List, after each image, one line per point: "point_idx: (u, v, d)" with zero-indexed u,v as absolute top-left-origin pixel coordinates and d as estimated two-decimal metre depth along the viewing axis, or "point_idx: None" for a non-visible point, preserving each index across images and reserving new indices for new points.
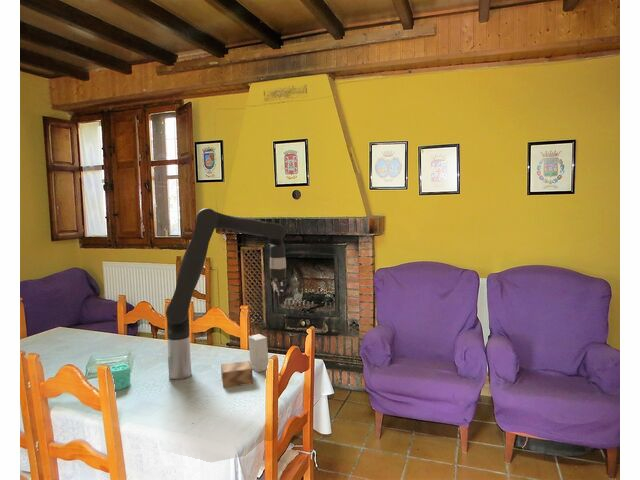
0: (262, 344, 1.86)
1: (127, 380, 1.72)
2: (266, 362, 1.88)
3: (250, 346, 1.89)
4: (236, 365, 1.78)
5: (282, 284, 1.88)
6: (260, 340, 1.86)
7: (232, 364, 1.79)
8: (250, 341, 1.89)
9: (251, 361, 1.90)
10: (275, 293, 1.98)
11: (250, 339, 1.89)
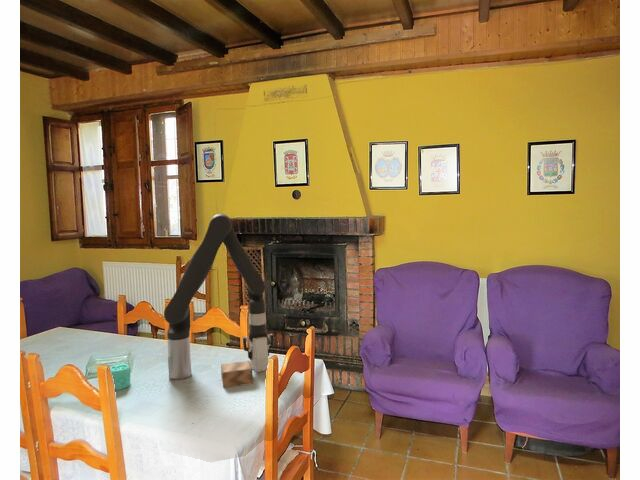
0: (262, 344, 1.86)
1: (127, 380, 1.72)
2: (266, 362, 1.88)
3: None
4: (236, 365, 1.78)
5: None
6: (260, 340, 1.86)
7: (232, 364, 1.79)
8: (250, 341, 1.89)
9: (251, 361, 1.90)
10: None
11: None
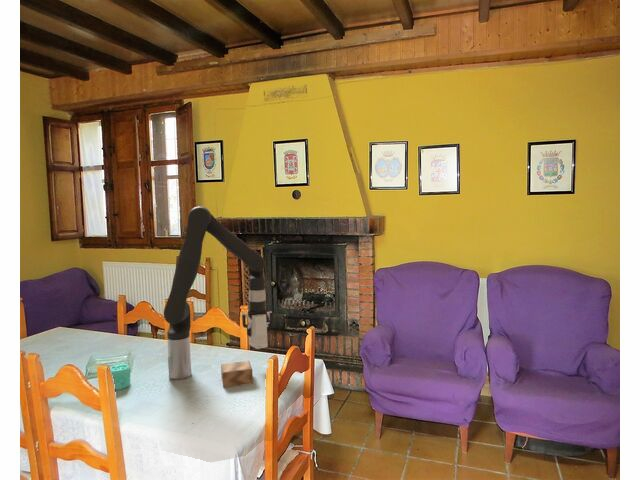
0: (261, 321, 1.85)
1: (127, 380, 1.72)
2: (265, 339, 1.87)
3: None
4: (236, 365, 1.78)
5: None
6: (260, 317, 1.85)
7: (232, 364, 1.79)
8: (249, 318, 1.88)
9: (250, 338, 1.89)
10: None
11: None
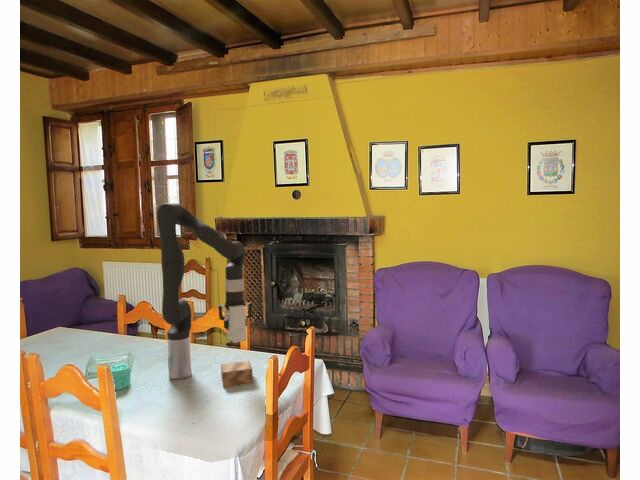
0: (239, 312, 1.73)
1: (127, 380, 1.72)
2: (243, 332, 1.74)
3: None
4: (236, 365, 1.78)
5: None
6: (237, 308, 1.72)
7: (232, 364, 1.79)
8: (226, 310, 1.76)
9: (227, 331, 1.76)
10: (227, 322, 1.74)
11: None
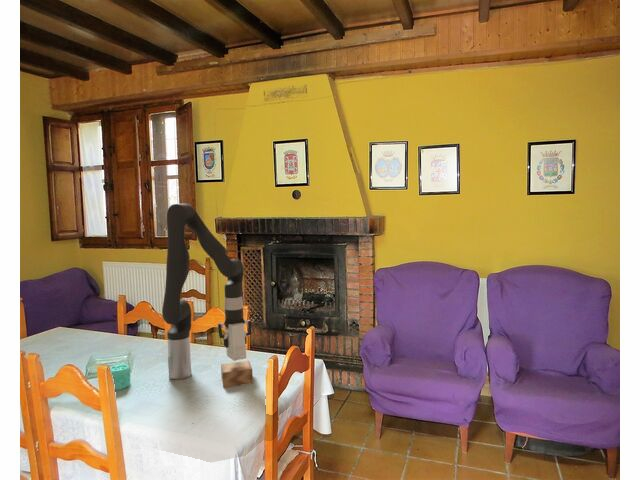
0: (239, 330, 1.73)
1: (127, 380, 1.72)
2: (243, 350, 1.74)
3: None
4: (236, 365, 1.78)
5: None
6: (237, 326, 1.72)
7: (232, 364, 1.79)
8: (226, 327, 1.76)
9: (227, 349, 1.76)
10: None
11: None
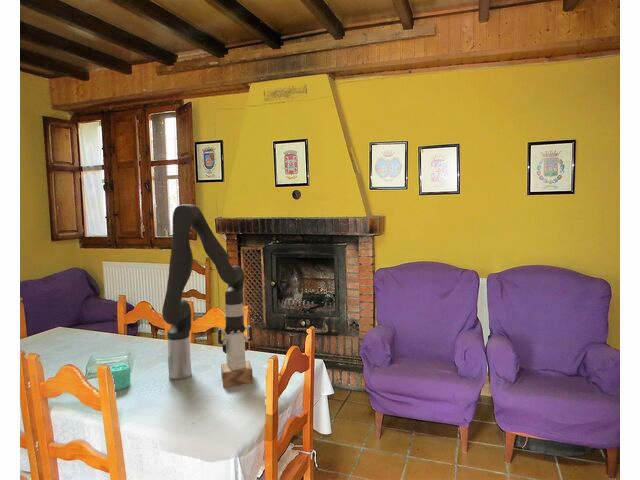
0: (238, 340, 1.73)
1: (127, 380, 1.72)
2: (243, 360, 1.74)
3: None
4: None
5: None
6: (236, 336, 1.72)
7: None
8: None
9: (227, 358, 1.77)
10: None
11: (226, 335, 1.76)
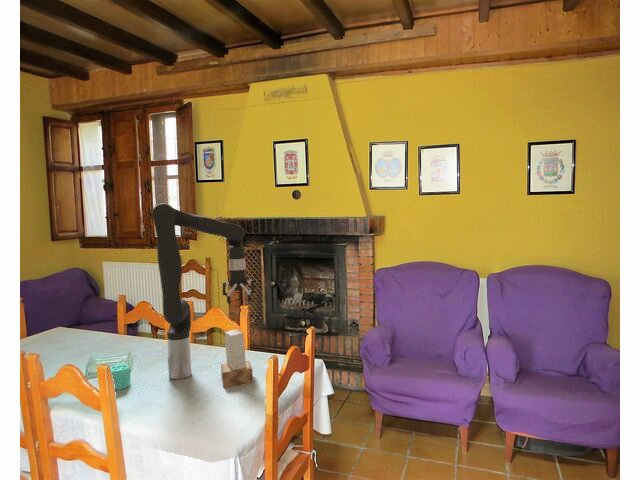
0: (238, 340, 1.73)
1: (127, 380, 1.72)
2: (243, 360, 1.74)
3: (226, 342, 1.76)
4: None
5: None
6: (236, 336, 1.72)
7: None
8: (226, 337, 1.76)
9: (227, 358, 1.77)
10: None
11: (226, 335, 1.76)
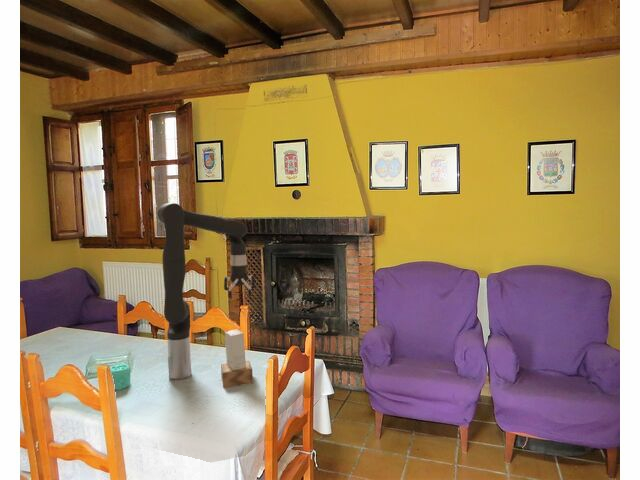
0: (238, 340, 1.73)
1: (127, 380, 1.72)
2: (243, 360, 1.74)
3: (226, 342, 1.76)
4: None
5: (253, 277, 2.01)
6: (236, 336, 1.72)
7: None
8: (226, 337, 1.76)
9: (227, 358, 1.77)
10: None
11: (226, 335, 1.76)
